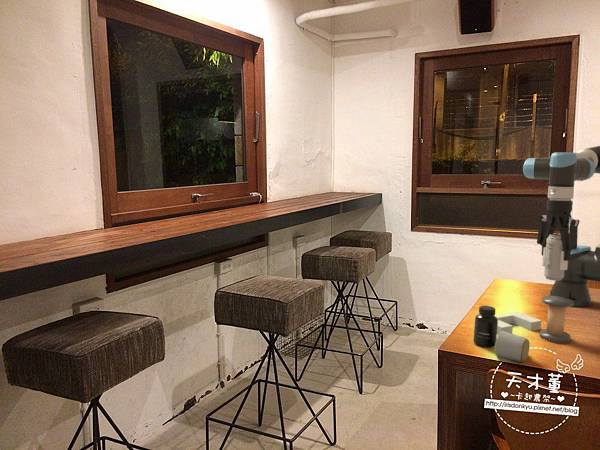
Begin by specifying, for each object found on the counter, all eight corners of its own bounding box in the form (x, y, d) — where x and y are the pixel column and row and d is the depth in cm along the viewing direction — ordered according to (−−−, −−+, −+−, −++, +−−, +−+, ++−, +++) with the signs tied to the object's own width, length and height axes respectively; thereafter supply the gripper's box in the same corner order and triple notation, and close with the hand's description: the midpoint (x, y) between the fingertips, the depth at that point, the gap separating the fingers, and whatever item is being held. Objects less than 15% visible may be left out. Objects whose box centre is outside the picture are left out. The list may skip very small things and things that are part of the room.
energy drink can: (564, 281, 163) (568, 237, 161) (544, 279, 166) (547, 235, 164) (562, 277, 169) (566, 234, 167) (543, 275, 171) (546, 233, 169)
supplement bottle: (480, 348, 154) (482, 311, 152) (469, 340, 160) (471, 304, 159) (500, 347, 155) (503, 310, 153) (489, 339, 161) (491, 303, 160)
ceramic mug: (522, 366, 141) (524, 340, 140) (493, 359, 146) (495, 334, 145) (532, 355, 149) (534, 331, 148) (504, 348, 154) (505, 325, 153)
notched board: (517, 320, 180) (518, 312, 180) (540, 328, 171) (541, 320, 171) (479, 326, 173) (480, 318, 173) (501, 336, 164) (502, 327, 164)
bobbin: (552, 331, 169) (555, 294, 167) (576, 340, 160) (579, 302, 159) (533, 335, 165) (536, 297, 163) (556, 344, 157) (559, 305, 155)
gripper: (528, 197, 171) (523, 263, 174) (579, 202, 154) (572, 275, 157) (543, 196, 174) (538, 261, 177) (594, 201, 157) (588, 272, 160)
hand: (554, 267), depth 167 cm, fingers closed on energy drink can, 6 cm apart
